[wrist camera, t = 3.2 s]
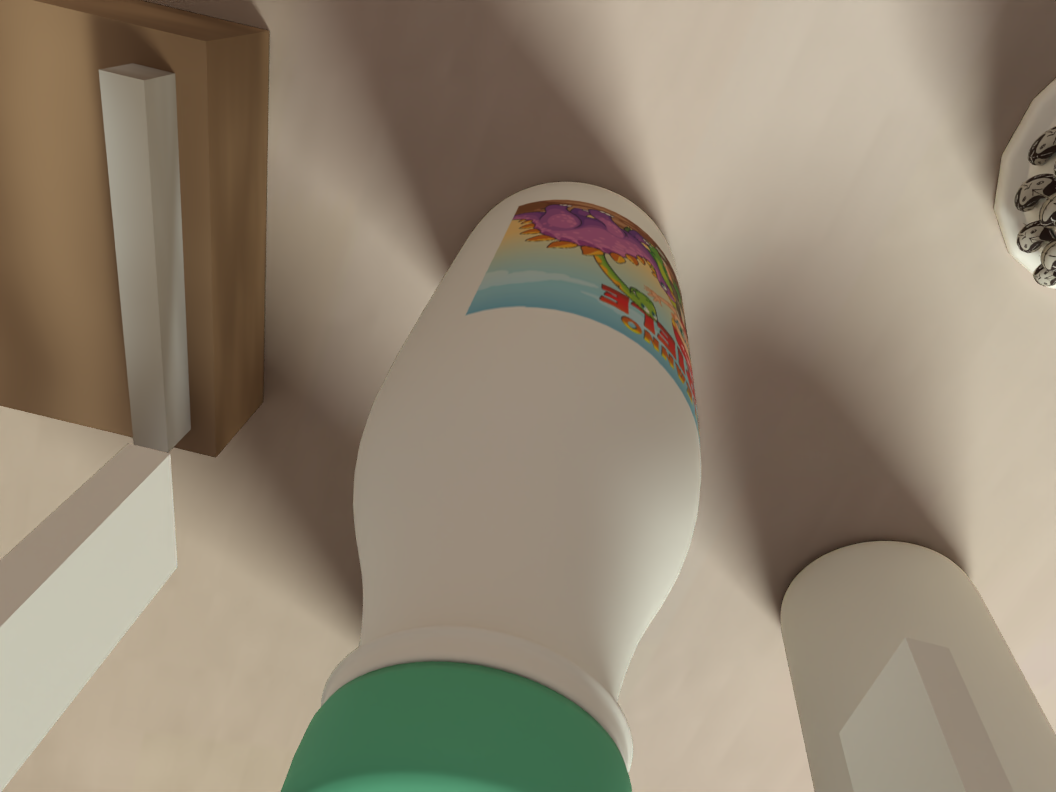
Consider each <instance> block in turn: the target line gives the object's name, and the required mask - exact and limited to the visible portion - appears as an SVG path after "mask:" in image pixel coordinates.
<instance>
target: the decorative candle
mask: <svg viewBox="0 0 1056 792" xmlns="http://www.w3.org/2000/svg"><path fill="white" fill-rule="evenodd" d="M994 211H995V214H996V217H997V220H998V223H999V226H1000V229H1001V232H1002V235H1003V238H1004V241H1005V244H1006V247H1007V250H1008V253H1009V254H1010V255H1011V256H1012V257H1013V258H1014V259H1016V260H1017V261H1018V262H1019V263H1020V264H1021V265H1022V266H1023V267H1025V268H1026V269H1027V270H1028V271H1029V272H1030V273H1031V274H1032V275H1033V277H1034V279H1035V281H1036V282H1037V283H1038V284H1040V285H1043V286H1047V287H1050V288H1053V289H1056V78H1055V79H1054V80H1053V81H1052V82H1051V83H1050V84H1049V85H1048V86H1047V87H1046V88H1045V89H1044V90H1043V91H1041V92H1040V93H1039V94H1038V95H1037V96H1036V97H1035V98H1034V99H1033V100H1032V102H1031V104H1030V106H1029V108H1028V109H1027V111H1026V113H1025V115H1024V117H1023V118H1022V120H1021V122H1020V124H1019V125H1018V127H1017V129H1016V131H1015V133H1014V134H1013V136H1012V138H1011V140H1010V142H1009V143H1008V145H1007V147H1006V149H1005V150H1004V152H1003V154H1002V156H1001V163H1000V170H999V177H998V184H997V191H996V198H995V204H994Z"/></svg>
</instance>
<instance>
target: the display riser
mask: <svg viewBox="0 0 1056 792" xmlns="http://www.w3.org/2000/svg"><path fill="white" fill-rule="evenodd" d="M269 33H270V31H268V30H264V29H260V28H256V27H251V26H247V25H243V24H239V23H235V22H230V21H226V20H222V19H218V18H214V17H209V16H205V15H201V14H197V13H192V12H188V11H184V10H180V9H176V8H171V7H167V6H163V5H159V4H155V3H150V2H146V1H142V0H0V406H4V407H8V408H12V409H17V410H21V411H25V412H29V413H33V414H37V415H42V416H46V417H50V418H54V419H58V420H62V421H67V422H71V423H75V424H79V425H83V426H87V427H92V428H96V429H100V430H104V431H108V432H112V433H117V434H121V435H125V436H129V437H133V440H134V445H137V446H142V447H146V448H150V449H154V450H158V451H162V452H167V453H169V452H170V451H171V449H172V448H173V447H175V448H179V449H183V450H187V451H192V452H196V453H200V454H204V455H208V456H212V457H217V455H218V454H219V453H220V452H221V451H222V450H223V448H224V447H225V446H226V445H227V444H228V443H229V441H230V440H231V439H232V438H233V437H234V436H235V434H236V433H237V432H238V431H239V430H240V429H241V427H242V426H243V425H244V424H245V423H246V422H247V420H248V419H249V418H250V417H251V416H252V415H253V413H254V412H255V411H256V410H257V409H258V408H259V406H260V405H261V404H262V403H263V386H264V327H265V268H266V209H267V151H268V92H269Z"/></svg>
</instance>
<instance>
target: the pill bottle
mask: <svg viewBox="0 0 1056 792" xmlns="http://www.w3.org/2000/svg"><path fill="white" fill-rule="evenodd" d="M781 631H782V637H783V642H784V647H785V652H786V656H787V661H788V666H789V671H790V676H791V680H792V685H793V690H794V695H795V700H796V704H797V709H798V714H799V719H800V724H801V728H802V733H803V738H804V743H805V748H806V752H807V757H808V762H809V767H810V772H811V776H812V781H813V786H814V791H815V792H854V790H853V786H852V782H851V778H850V775H849V771H848V767H847V763H846V759H845V755H844V751H843V747H842V743H841V739H840V735H839V733H840V731H841V730H842V728H843V727H844V725H845V724H846V722H847V721H848V720H849V718H850V717H851V715H852V714H853V712H854V711H855V709H856V708H857V706H858V705H859V704H860V702H861V701H862V699H863V698H864V696H865V695H866V693H867V692H868V690H869V689H870V688H871V686H872V685H873V683H874V682H875V680H876V679H877V677H878V676H879V675H880V673H881V672H882V670H883V669H884V667H885V666H886V664H887V663H888V661H889V660H890V659H891V657H892V656H893V654H894V653H895V651H896V650H897V648H898V647H899V645H900V644H901V643H902V641H903V640H904V638H905V637H907V638H911V639H915V640H919V641H923V642H927V643H931V644H935V645H939V646H943V647H947V648H949V649H950V652H951V654H952V656H953V658H954V660H955V663H956V665H957V667H958V669H959V671H960V674H961V676H962V678H963V680H964V683H965V685H966V687H967V689H968V691H969V694H970V696H971V698H972V700H973V703H974V705H975V707H976V709H977V711H978V714H979V716H980V718H981V720H982V722H983V725H984V727H985V729H986V731H987V734H988V736H989V738H990V740H991V742H992V745H993V747H994V749H995V751H996V754H997V756H998V758H999V760H1000V762H1001V765H1002V767H1003V769H1004V771H1005V774H1006V776H1007V778H1008V780H1009V782H1010V785H1011V787H1012V789H1013V791H1014V792H1056V735H1055V733H1054V731H1053V729H1052V727H1051V725H1050V723H1049V722H1048V720H1047V718H1046V716H1045V714H1044V712H1043V710H1042V709H1041V707H1040V705H1039V703H1038V701H1037V699H1036V697H1035V695H1034V694H1033V692H1032V690H1031V688H1030V686H1029V684H1028V682H1027V681H1026V679H1025V677H1024V675H1023V673H1022V671H1021V669H1020V668H1019V666H1018V664H1017V662H1016V660H1015V658H1014V656H1013V655H1012V653H1011V651H1010V649H1009V647H1008V645H1007V643H1006V642H1005V640H1004V638H1003V636H1002V634H1001V632H1000V630H999V629H998V627H997V625H996V623H995V621H994V619H993V617H992V616H991V614H990V612H989V610H988V608H987V606H986V604H985V603H984V601H983V599H982V597H981V595H980V593H979V591H978V590H977V588H976V587H975V586H974V584H973V583H972V582H971V580H970V579H969V577H968V576H967V575H966V574H965V572H964V571H963V570H962V569H961V568H960V567H959V566H957V565H956V564H955V563H954V562H952V561H951V560H950V559H948V558H947V557H945V556H943V555H942V554H940V553H938V552H936V551H933V550H931V549H928V548H926V547H923V546H919V545H916V544H911V543H906V542H898V541H872V542H864V543H858V544H853V545H849V546H846V547H842V548H839V549H837V550H834V551H832V552H829V553H827V554H825V555H823V556H821V557H820V558H818V559H816V560H815V561H813V562H812V563H810V564H809V565H808V566H806V567H805V568H804V569H803V570H802V571H801V572H800V573H799V574H798V575H797V576H796V577H795V578H794V580H793V581H792V582H791V584H790V586H789V587H788V589H787V591H786V593H785V596H784V598H783V602H782V606H781Z"/></svg>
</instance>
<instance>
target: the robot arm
mask: <svg viewBox="0 0 1056 792" xmlns="http://www.w3.org/2000/svg"><path fill="white" fill-rule="evenodd" d="M177 567H178V566H177V550H176V535H175V519H174V503H173V488H172V472H171V456H170V454H169V453H165V452H161V451H157V450H153V449H149V448H145V447H141V446H137V445H133V444H129V443H128V444H127V445H126V446H125V447H124V448H122V449H121V450H120V451H119V452H118V453H117V454H116V455H115V456H114V457H113V458H111V459H110V460H109V461H108V462H107V463H106V464H105V465H104V466H103V467H102V468H101V469H99V470H98V471H97V472H96V473H95V474H94V475H93V476H92V477H91V478H90V479H89V480H87V481H86V482H85V483H84V484H83V485H82V486H81V487H80V488H79V489H78V490H76V491H75V492H74V493H73V494H72V495H71V496H70V497H69V498H68V499H67V500H66V501H64V502H63V503H62V504H61V505H60V506H59V507H58V508H57V509H56V510H55V511H54V512H52V513H51V514H50V515H49V516H48V517H47V518H46V519H45V520H44V521H43V522H41V523H40V524H39V525H38V526H37V527H36V528H35V529H34V530H33V531H32V532H31V533H29V534H28V535H27V536H26V537H25V538H24V539H23V540H22V541H21V542H20V543H19V544H17V545H16V546H15V547H14V548H13V549H12V550H11V551H10V552H9V553H8V554H6V555H5V556H4V557H3V558H2V559H1V560H0V792H2V790H3V789H4V788H5V786H6V785H7V784H8V783H9V781H10V780H11V779H12V778H13V776H14V775H15V774H16V772H17V771H18V770H19V769H20V767H21V766H22V765H23V763H24V762H25V761H26V760H27V758H28V757H29V756H30V755H31V753H32V752H33V751H34V749H35V748H36V747H37V746H38V744H39V743H40V742H41V741H42V739H43V738H44V737H45V735H46V734H47V733H48V732H49V730H50V729H51V728H52V726H53V725H54V724H55V723H56V721H57V720H58V719H59V718H60V716H61V715H62V714H63V712H64V711H65V710H66V709H67V707H68V706H69V705H70V704H71V702H72V701H73V700H74V698H75V697H76V696H77V695H78V693H79V692H80V691H81V689H82V688H83V687H84V686H85V684H86V683H87V682H88V681H89V679H90V678H91V677H92V675H93V674H94V673H95V672H96V670H97V669H98V668H99V666H100V665H101V664H102V663H103V661H104V660H105V659H106V658H107V656H108V655H109V654H110V652H111V651H112V650H113V649H114V647H115V646H116V645H117V644H118V642H119V641H120V640H121V638H122V637H123V636H124V635H125V633H126V632H127V631H128V629H129V628H130V627H131V626H132V624H133V623H134V622H135V621H136V619H137V618H138V617H139V615H140V614H141V613H142V612H143V610H144V609H145V608H146V607H147V605H148V604H149V603H150V601H151V600H152V599H153V598H154V596H155V595H156V594H157V592H158V591H159V590H160V589H161V587H162V586H163V585H164V584H165V582H166V581H167V580H168V578H169V577H170V576H171V575H172V573H173V572H174V571H175V570H176V568H177ZM839 735H840V739H841V743H842V747H843V751H844V755H845V759H846V763H847V767H848V771H849V775H850V778H851V782H852V786H853V790H854V792H1014V791H1013V789H1012V787H1011V785H1010V782H1009V780H1008V778H1007V776H1006V774H1005V771H1004V769H1003V767H1002V765H1001V762H1000V760H999V758H998V756H997V754H996V751H995V749H994V747H993V745H992V742H991V740H990V738H989V736H988V734H987V731H986V729H985V727H984V725H983V722H982V720H981V718H980V716H979V714H978V711H977V709H976V707H975V705H974V703H973V700H972V698H971V696H970V694H969V691H968V689H967V687H966V685H965V683H964V680H963V678H962V676H961V674H960V671H959V669H958V667H957V665H956V663H955V660H954V658H953V656H952V654H951V652H950V649H949V648H947V647H943V646H939V645H935V644H931V643H927V642H923V641H919V640H915V639H911V638H907V637H905V638H904V640H903V641H902V643H901V644H900V645H899V647H898V648H897V650H896V651H895V653H894V654H893V656H892V657H891V659H890V660H889V661H888V663H887V664H886V666H885V667H884V669H883V670H882V672H881V673H880V675H879V676H878V677H877V679H876V680H875V682H874V683H873V685H872V686H871V688H870V689H869V690H868V692H867V693H866V695H865V696H864V698H863V699H862V701H861V702H860V704H859V705H858V706H857V708H856V709H855V711H854V712H853V714H852V715H851V717H850V718H849V720H848V721H847V722H846V724H845V725H844V727H843V728H842V730H841V731H840V733H839Z"/></svg>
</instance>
